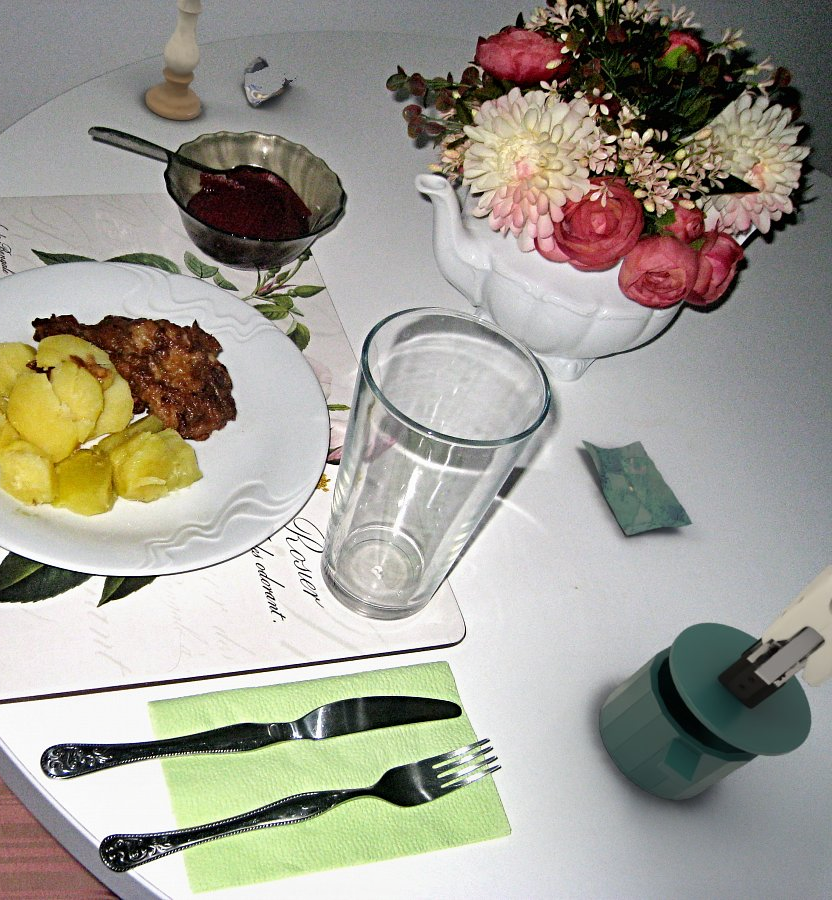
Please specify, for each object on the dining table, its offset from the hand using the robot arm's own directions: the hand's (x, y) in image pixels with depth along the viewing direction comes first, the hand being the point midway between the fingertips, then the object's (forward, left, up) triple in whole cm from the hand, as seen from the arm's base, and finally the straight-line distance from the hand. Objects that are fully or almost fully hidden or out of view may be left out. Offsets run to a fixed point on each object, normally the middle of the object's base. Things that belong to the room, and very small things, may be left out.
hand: (747, 679), depth 71 cm
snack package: (+107, -38, -13) cm, 114 cm away
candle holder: (+107, -20, -13) cm, 110 cm away
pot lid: (0, 0, -1) cm, 1 cm away
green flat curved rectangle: (+20, -24, -13) cm, 34 cm away
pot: (0, 0, -13) cm, 13 cm away
